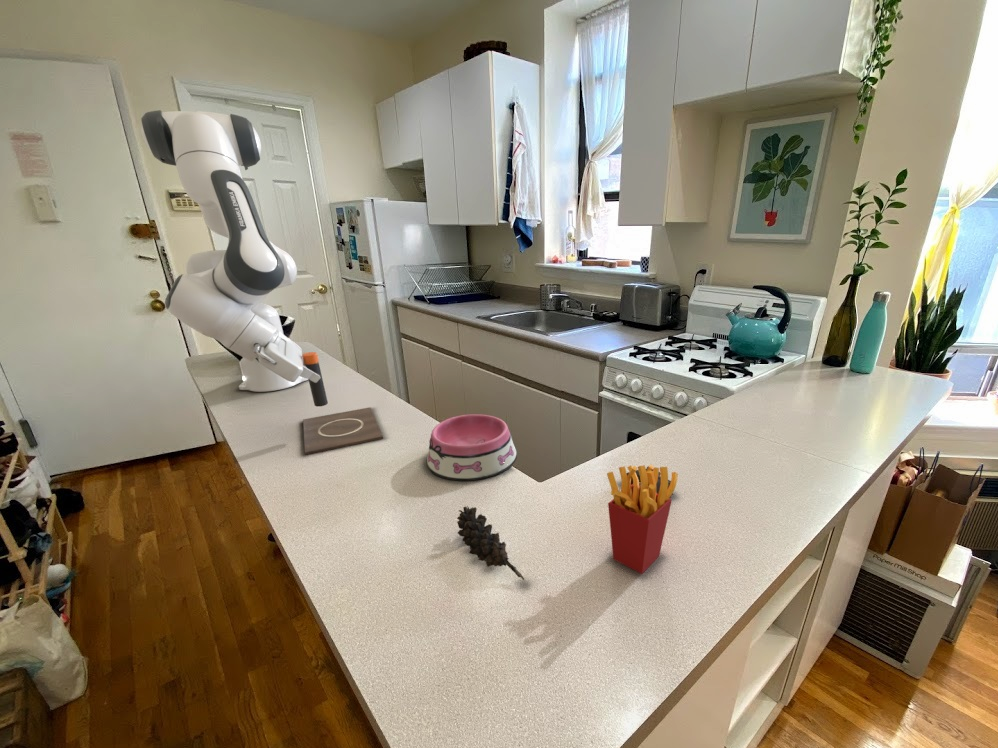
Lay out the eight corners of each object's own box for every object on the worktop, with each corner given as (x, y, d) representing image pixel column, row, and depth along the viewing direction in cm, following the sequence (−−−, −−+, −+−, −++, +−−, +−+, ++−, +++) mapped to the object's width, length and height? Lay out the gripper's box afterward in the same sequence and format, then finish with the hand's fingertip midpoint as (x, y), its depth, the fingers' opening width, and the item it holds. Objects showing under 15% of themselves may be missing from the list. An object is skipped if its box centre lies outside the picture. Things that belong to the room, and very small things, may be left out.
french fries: (644, 581, 63) (652, 487, 57) (595, 555, 68) (597, 467, 62) (674, 548, 70) (684, 461, 64) (627, 526, 75) (632, 443, 69)
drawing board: (303, 421, 115) (302, 418, 115) (370, 409, 122) (370, 406, 122) (305, 455, 99) (304, 451, 99) (383, 438, 106) (382, 435, 105)
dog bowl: (534, 461, 95) (533, 431, 92) (451, 492, 85) (447, 459, 82) (489, 431, 108) (487, 404, 106) (413, 454, 98) (408, 425, 95)
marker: (314, 403, 107) (302, 353, 102) (327, 401, 108) (316, 351, 104) (314, 407, 105) (302, 356, 100) (328, 405, 106) (317, 354, 101)
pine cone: (447, 533, 74) (444, 505, 72) (476, 521, 76) (473, 494, 74) (499, 601, 61) (496, 569, 58) (532, 584, 63) (530, 554, 61)
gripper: (263, 338, 88) (329, 378, 96) (267, 319, 105) (324, 355, 113) (242, 364, 88) (310, 402, 96) (250, 341, 105) (308, 375, 113)
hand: (318, 376), depth 104 cm, fingers closed on marker, 3 cm apart
